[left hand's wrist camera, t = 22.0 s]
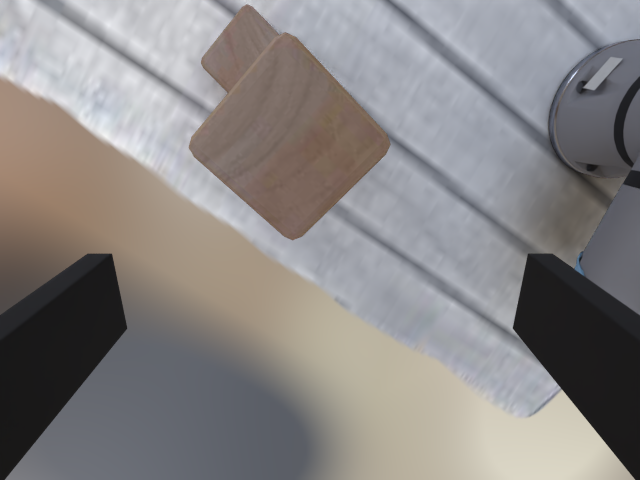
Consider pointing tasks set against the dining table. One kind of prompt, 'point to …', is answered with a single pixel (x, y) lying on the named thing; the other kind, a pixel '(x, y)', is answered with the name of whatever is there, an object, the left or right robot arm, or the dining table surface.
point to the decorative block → (282, 127)
